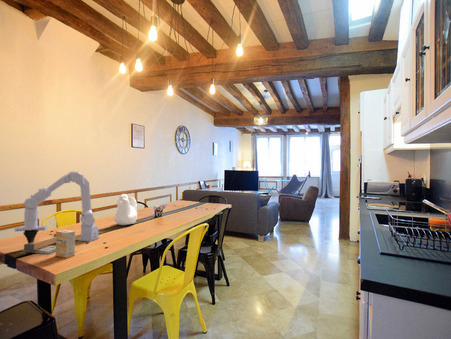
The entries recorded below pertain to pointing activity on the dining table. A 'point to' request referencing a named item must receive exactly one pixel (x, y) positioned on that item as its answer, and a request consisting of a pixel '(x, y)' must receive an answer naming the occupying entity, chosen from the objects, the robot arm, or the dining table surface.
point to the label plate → (44, 249)
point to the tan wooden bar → (39, 243)
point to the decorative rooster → (126, 210)
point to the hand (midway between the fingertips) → (30, 243)
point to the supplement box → (65, 243)
